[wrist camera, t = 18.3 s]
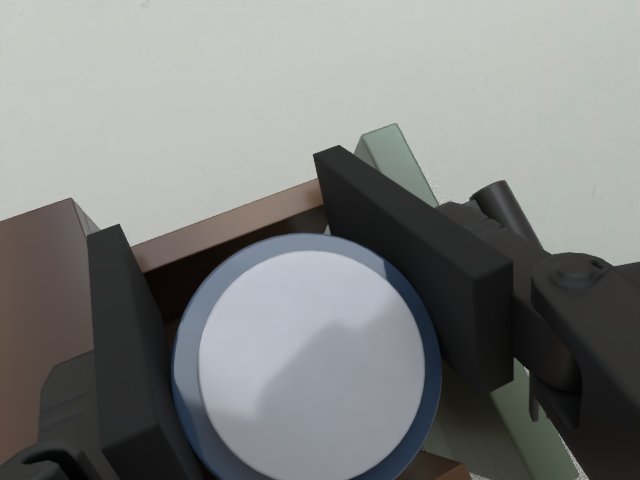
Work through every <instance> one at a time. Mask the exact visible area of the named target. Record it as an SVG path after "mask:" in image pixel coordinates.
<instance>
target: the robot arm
mask: <svg viewBox="0 0 640 480" xmlns="http://www.w3.org/2000/svg"><path fill="white" fill-rule="evenodd" d="M313 158H314V162H315V167H316V171H317V176H318V180H319V185H320V189H321V194H322V198H323V203H324V207H325V212H326V216H327V221H328V225H329V230H330V234H331V235H332V236H337V237H341V238H344V239H347V240H350V241H353V242H356V243H358V244H360V245H362V246H364V247H367V248H369V249H371V250H372V251H374V252H375V253H377V254H378V255H380V256H382V257H383V258H385V259H386V260H387V261H388V262H389V263H391V264H392V265H393V266H394V267H396V268H397V269H398V270H399V271H400V272H401V273H402V274H403V276H404V277H405V278H406V279H407V280H408V281H409V282H410V283H411V285H412V286H413V287H414V289H415V290H416V292H417V293H418V294H419V296H420V298H421V299H422V301H423V303H424V305H425V307H426V309H427V311H428V313H429V315H430V317H431V320H432V322H433V324H434V327H435V331H436V334H437V338H438V341H439V347H440V354H441V358H442V359H443V360H444V361H445V362H446V363H447V364H448V365H449V366H450V367H451V368H452V369H453V370H454V371H455V373H456V374H457V375H458V376H459V377H460V378H461V379H462V380H463V381H464V382H465V383H466V384H467V385H468V386H469V387H470V388H471V389H472V390H473V392H474V393H475V394H476V395H477V396H478V397H479V398H481V397H483V396H485V395H487V394H489V393H491V392H493V391H494V390H496V389H498V388H500V387H502V386H504V385H506V384H508V383H510V382H512V381H514V357H515V358H516V359H517V360H518V361H519V362H520V363H521V364H522V365H524V366H525V367H526V368H527V369H528V370H529V414H530V417H531V420H532V422H536V421H538V418H539V404H540V405H541V407H542V408H543V410H544V412H545V413H546V418H547V419H548V418H549V419H550V421H551V422H552V424H553V425H554V427H555V428H556V430H557V431H558V433H559V434H560V436H561V437H562V439H563V440H564V442H565V443H566V445H567V446H568V448H569V450H570V451H571V453H572V454H573V456H574V457H575V459H576V460H577V462H578V463H579V465H580V466H581V468H582V469H583V471H584V472H585V474H586V475H587V477H588V478H589V480H640V262H635V263H630V264H625V265H620V266H613V265H611V264H609V263H608V262H606V261H604V260H603V259H601V258H598V257H595V256H591V255H588V254H583V253H570V252H568V253H560V254H553V255H551V254H550V253H548V252H546V251H545V250H543V249H541V248H540V247H538V246H536V245H535V244H533V243H531V242H530V241H528V240H526V239H525V238H523V237H521V236H520V235H518V234H516V233H515V232H513V231H511V230H510V229H508V228H506V227H505V228H503V226H502V225H501V224H500V223H498V222H496V221H495V220H493V219H489V217H488V216H486V215H485V214H483V213H481V212H480V211H478V210H476V209H475V208H473V207H471V206H467V205H463V204H458V203H454V202H450V201H449V202H447V203H444V204H442V205H440V206H437V207H435V208H433V207H432V206H430V205H429V204H427V203H426V202H424V201H423V200H421V199H420V198H418V197H417V196H415V195H414V194H412V193H411V192H409V191H408V190H406V189H405V188H403V187H402V186H400V185H399V184H397V183H396V182H394V181H393V180H391V179H390V178H388V177H387V176H385V175H384V174H382V173H381V172H379V171H378V170H376V169H375V168H373V167H372V166H370V165H369V164H367V163H366V162H364V161H363V160H361V159H360V158H358V157H357V156H355V155H354V154H352V153H351V152H349V151H348V150H346V149H345V148H343V147H342V146H340V145H337V146H335V147H332V148H329V149H326V150H324V151H321V152H318V153H315V154H313ZM87 249H88V264H89V280H90V296H91V311H92V327H93V343H94V349H93V350H91V351H88V352H86V353H83V354H81V355H78V356H76V357H74V358H71V359H69V360H66V361H64V362H61V363H59V364H57V365H54V366H53V368H52V369H51V371H50V373H49V375H48V377H47V379H46V380H45V382H44V384H43V386H42V388H41V392H40V407H39V411H40V415H39V422H38V430H39V433H38V437H37V443H36V444H34V445H32V446H30V447H27V448H25V449H23V450H21V451H19V452H18V453H16V454H15V455H14V456H12V457H11V458H10V459H8V460H7V461H6V462H5V463H3V464H2V465H1V466H0V480H205V479H204V475H203V471H202V467H201V464H200V460H199V459H198V458H197V456H196V454H195V453H194V451H193V450H192V448H191V446H190V445H189V443H188V440H187V438H186V435H185V433H184V430H183V427H182V425H181V422H180V419H179V417H178V414H177V411H176V408H175V405H174V402H173V397H172V390H171V374H170V365H171V356H172V353H171V350H170V346H169V342H168V338H167V334H166V331H165V327H164V323H163V319H162V315H161V312H160V310H159V308H158V305H157V303H156V301H155V299H154V297H153V295H152V293H151V290H150V288H149V286H148V284H147V282H146V280H145V278H144V275H143V273H142V271H141V269H140V267H139V265H138V263H137V260H136V258H135V256H134V254H133V252H132V250H131V248H130V245H129V243H128V241H127V239H126V237H125V235H124V233H123V230H122V228H121V226H120V224H117V225H114V226H111V227H109V228H106V229H103V230H100V231H97V232H95V233H92V234H89V235H87Z"/></svg>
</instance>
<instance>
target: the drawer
mask: <svg viewBox="0 0 640 480" xmlns="http://www.w3.org/2000/svg"><path fill="white" fill-rule="evenodd" d="M354 155H355V156H357V157H358V158H360V159H361V160H363V161H364V162H366V163H367V164H369V165H370V166H372V167H373V168H375V169H376V170H378V171H379V172H381V173H382V174H384V175H385V176H387V177H388V178H390V179H391V180H393V181H394V182H396V183H397V184H399V185H400V186H402V187H403V188H405V189H406V190H408V191H409V192H411V193H412V194H414V195H415V196H417V197H418V198H420V199H421V200H423V201H424V202H426V203H427V204H429V205H430V206H432V207H433V208H435V207H437V206H439V204H438V202H437V200H436V198H435V196H434V194H433V192H432V190H431V188H430V186H429V184H428V182H427V180H426V179H425V177H424V175H423V173H422V171H421V169H420V167H419V165H418V163H417V161H416V159H415V157H414V155H413V153H412V152H411V150H410V148H409V146H408V144H407V142H406V140H405V138H404V136H403V134H402V132H401V130H400V128H399V127H398V125H397V124H396V123H394V124H391V125H388V126H385V127H383V128H380V129H377V130H374V131H371V132H369V133H366V134H363V135H362V136H361V137H360V139H359V142H358V144H357V147H356V149H355V152H354ZM463 205H467V206H471V207H473V208H475V209H476V210H478V211H480V212H481V213H483V214H485V215H486V216H488V217H489V219H493V220H495V221H496V222H498V223H500V224H501V225H502V226H503V228H505V227H506V228H508V229H510V230H511V231H513V232H515V233H516V234H518V235H520V236H521V237H523V238H525V239H526V240H528V241H530V242H531V243H533V244H535V245H536V246H538V247H540V248H541V249H543V247H542V245H541V243H540V241H539V240H538V238H537V236H536V234H535V232H534V231H533V229H532V227H531V225H530V223H529V222H528V220H527V218H526V216H525V214H524V213H523V211H522V209H521V207H520V205H519V204H518V202H517V200H516V198H515V196H514V195H513V193H512V191H511V189H510V187H509V186H508V184H507V182H506V181H505V180H501V181H497V182H495V183H492V184H490V185H488V186H486V187H484V188H482V189H480V190H479V191H477V192H476V193H474V194H473V195H472V196H471V197H470V198H469V202H466V203H464V204H463ZM291 233H320V234H324V233H325V234H327V235H331V234H330V230H329V225H328V221H327V216H326V212H325V207H324V203H323V198H322V194H321V189H320V185H319V180H318V178H316V179H314V180H311V181H308V182H306V183H303V184H300V185H297V186H295V187H292V188H289V189H287V190H284V191H281V192H278V193H276V194H273V195H270V196H268V197H265V198H262V199H259V200H257V201H254V202H251V203H249V204H246V205H243V206H241V207H238V208H235V209H232V210H230V211H227V212H224V213H222V214H219V215H216V216H213V217H211V218H208V219H205V220H203V221H200V222H197V223H194V224H192V225H189V226H186V227H184V228H181V229H178V230H175V231H173V232H170V233H167V234H165V235H162V236H159V237H157V238H154V239H151V240H148V241H146V242H143V243H140V244H138V245H135V246H132V247H130V248H131V250H132V252H133V254H134V256H135V258H136V260H137V263H138V265H139V267H140V269H141V271H142V273H143V275H144V278H145V280H146V282H147V284H148V286H149V288H150V290H151V293H152V295H153V297H154V299H155V301H156V303H157V305H158V308H159V310H160V312H161V315H162V319H163V323H164V327H165V331H166V334H167V338H168V342H169V346H170V350H171V353H172V348H173V343H174V339H175V335H176V331H177V328H178V325H179V323H180V320H181V318H182V315H183V312H184V311H185V309H186V307H187V305H188V303H189V301H190V300H191V298H192V296H193V295H194V293H195V292H196V290H197V289H198V288H199V286H200V285H201V284H202V282H203V281H204V280H205V279H206V278H207V277H208V276H209V275H210V274H211V272H212V271H213V270H214V269H215V268H217V267H218V266H219V265H220V264H221V263H223V262H224V261H225V260H226V259H227V258H229V257H230V256H232V255H234V254H235V253H237V252H238V251H240V250H242V249H243V248H245V247H248V246H250V245H252V244H254V243H256V242H259V241H262V240H265V239H268V238H271V237H274V236H280V235H285V234H291ZM543 250H544V249H543ZM441 362H442V383H441V395H440V399H439V404H438V409H437V413H436V416H435V419H434V422H433V425H432V427H431V430H430V432H429V434H428V436H427V438H426V440H425V442H424V444H423V448H424V450H425V451H423V450H419V452H418V453H417V455H416V456H415V458H414V459H413V461H412V462H411V463H410V464H409V465H408V467H407V468H406V469H405V470H404V471H403V472H402V473H401V474H400V475H399V476H398V477H397V478H396V479H395V480H472V479H471V477H470V475H469V473H468V472H470V473H473V474H475V475H478V476H481V477H484V478H487V479H490V480H574V479H576V478H578V476H579V473H578V471H577V470H576V468H575V466H574V464H573V462H572V460H571V458H570V456H569V454H568V452H567V450H566V448H565V446H564V444H563V443H562V441H561V439H560V437H559V435H558V433H557V431H556V429H555V427H554V425H553V424H552V422H551V421H550V419H549V418H548V419H547V418H546V413H545V412H544V410H543V408H542V407H541V405H540V404H539V418H538V421H536V422H532V420H531V417H530V414H529V377H528V375H527V373H526V371H525V369H524V365H522V364H521V363H520V362H519V361H518V360H517V359H516V358H515V357H514V381H512V382H510V383H508V384H506V385H504V386H502V387H500V388H498V389H496V390H494V391H493V392H491V393H489V394H487V395H485V396H483V397H481V398H479V397H478V396H477V395H476V394H475V393H474V392H473V390H472V389H471V388H470V387H469V386H468V385H467V384H466V383H465V382H464V381H463V380H462V379H461V378H460V377H459V376H458V375H457V374H456V373H455V371H454V370H453V369H452V368H451V367H450V366H449V365H448V364H447V363H446V362H445V361H444V360H443V359H442V358H441ZM200 464H201V467H202V471H203V475H204V479H205V480H218V479H217V478H216V477H214V476H213V475H212V474H211V473H210V472H209V471H208V469H207V468H206V467H205V466H204V465H203V464H202V462H201V461H200Z"/></svg>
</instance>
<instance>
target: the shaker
mask: <svg viewBox="0 0 640 480" xmlns="http://www.w3.org/2000/svg"><path fill="white" fill-rule="evenodd" d="M170 374H171V390H172V397H173V402H174V405H175V408H176V411H177V414H178V417H179V419H180V422H181V425H182V427H183V430H184V433H185V435H186V438H187V440H188V443H189V445H190V446H191V448H192V450H193V451H194V453H195V454H196V456H197V458H198V459H199V460H200V461H201V462H202V464H203V465H204V466H205V467H206V468H207V469H208V471H209V472H210V473H211V474H212V475H213V476H214V477H216V478H217V479H218V480H395V479H396V478H397V477H398V476H399V475H400V474H401V473H402V472H403V471H404V470H405V469H406V468H407V467H408V465H409V464H410V463H411V462H412V461H413V459H414V458H415V456H416V455H417V453H418V452H419V450H420V449H421V448H422V446H423V444H424V442H425V440H426V438H427V436H428V434H429V432H430V430H431V427H432V425H433V422H434V419H435V416H436V413H437V409H438V404H439V399H440V395H441V383H442V362H441V354H440V347H439V341H438V338H437V334H436V331H435V327H434V324H433V322H432V320H431V317H430V315H429V313H428V311H427V309H426V307H425V305H424V303H423V301H422V299H421V298H420V296H419V294H418V293H417V292H416V290H415V289H414V287H413V286H412V285H411V283H410V282H409V281H408V280H407V279H406V278H405V277H404V276H403V274H402V273H401V272H400V271H399V270H398V269H397V268H396V267H394V266H393V265H392V264H391V263H389V262H388V261H387V260H386V259H385V258H383V257H382V256H380V255H378V254H377V253H375V252H374V251H372V250H371V249H369V248H367V247H364V246H362V245H360V244H358V243H356V242H353V241H350V240H347V239H344V238H341V237H337V236H332V235H327V234H320V233H291V234H285V235H280V236H274V237H271V238H268V239H265V240H262V241H259V242H256V243H254V244H252V245H250V246H248V247H245V248H243V249H242V250H240V251H238V252H237V253H235V254H234V255H232V256H230V257H229V258H227V259H226V260H225V261H224V262H223V263H221V264H220V265H219V266H218V267H217V268H215V269H214V270H213V271H212V272H211V274H210V275H209V276H208V277H207V278H206V279H205V280H204V281H203V282H202V284H201V285H200V286H199V288H198V289H197V290H196V292H195V293H194V295H193V296H192V298H191V300H190V301H189V303H188V305H187V307H186V309H185V311H184V312H183V315H182V318H181V320H180V323H179V325H178V328H177V331H176V335H175V339H174V343H173V348H172V356H171V365H170Z"/></svg>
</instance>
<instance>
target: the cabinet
mask: <svg viewBox="0 0 640 480" xmlns="http://www.w3.org/2000/svg"><path fill="white" fill-rule="evenodd" d="M97 231H100V229H99V228H98V227H97V225H96V224H95V223H94V222H93V221H92V220H91V219H90V218H89V217H88V216H87V215H86V214H85V212H84V211H83V210H82V209H81V208H80V206H79V205H78V204H77V203H76V202H75V201H74V200H73V199H72V198H68V199H65V200H62V201H59V202H56V203H53V204H50V205H47V206H44V207H41V208H38V209H35V210H32V211H29V212H26V213H23V214H20V215H18V216H15V217H12V218H9V219H6V220H3V221H0V466H1V465H2V464H3V463H5V462H6V461H7V460H8V459H10V458H11V457H12V456H14V455H15V454H16V453H18V452H19V451H21V450H23V449H25V448H27V447H30V446H32V445H34V444H36V443H37V437H38V433H39V430H38V422H39V415H40V411H39V407H40V392H41V388H42V386H43V384H44V382H45V380H46V379H47V377H48V375H49V373H50V371H51V369H52V368H53V366H54V365H57V364H59V363H61V362H64V361H66V360H69V359H71V358H74V357H76V356H78V355H81V354H83V353H86V352H88V351H91V350H93V349H94V343H93V327H92V311H91V296H90V280H89V264H88V249H87V235H89V234H92V233H95V232H97Z"/></svg>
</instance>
